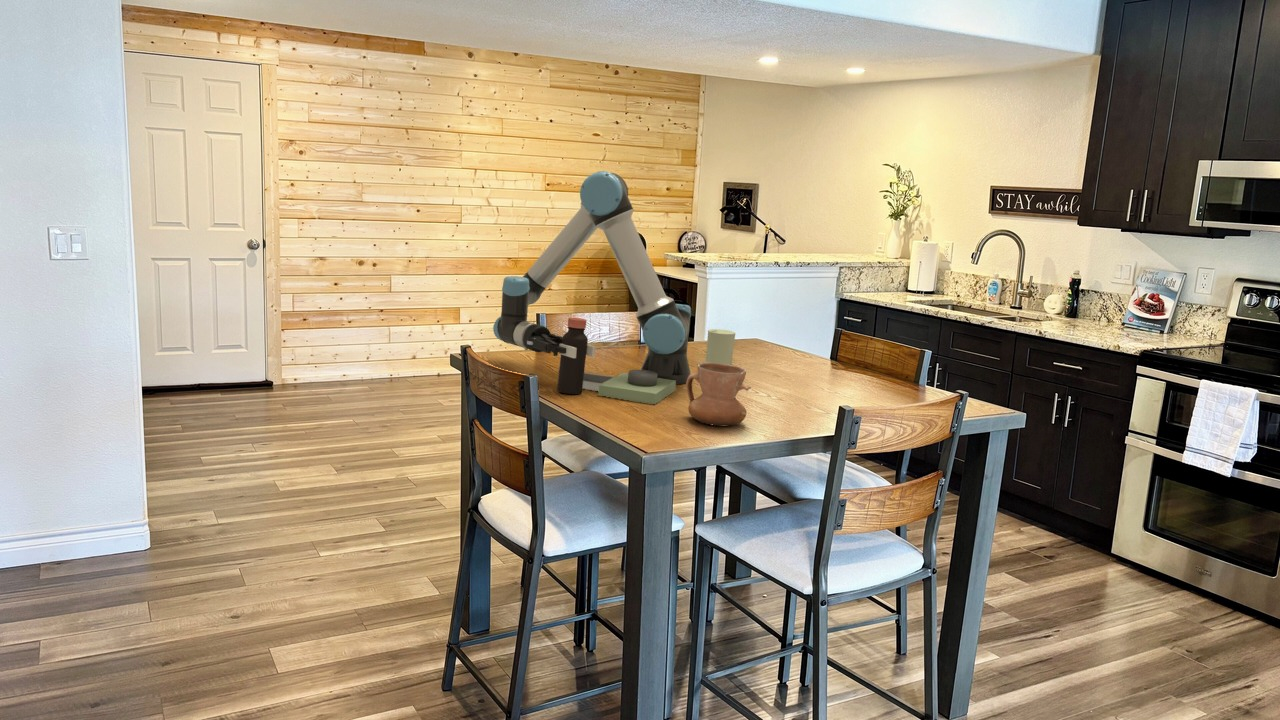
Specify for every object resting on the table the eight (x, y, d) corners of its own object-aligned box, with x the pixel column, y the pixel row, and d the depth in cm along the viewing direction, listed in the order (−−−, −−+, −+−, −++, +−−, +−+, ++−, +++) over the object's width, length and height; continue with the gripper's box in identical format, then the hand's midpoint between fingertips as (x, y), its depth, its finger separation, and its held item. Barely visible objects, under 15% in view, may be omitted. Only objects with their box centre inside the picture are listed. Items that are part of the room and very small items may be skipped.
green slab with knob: (583, 377, 271) (584, 357, 270) (675, 390, 263) (676, 370, 262) (557, 389, 252) (558, 368, 251) (655, 404, 245) (657, 382, 243)
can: (700, 362, 310) (703, 327, 308) (725, 363, 313) (729, 328, 311) (710, 368, 301) (714, 332, 299) (736, 368, 304) (740, 333, 302)
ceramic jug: (759, 425, 232) (766, 370, 230) (729, 434, 221) (735, 376, 218) (700, 410, 243) (705, 357, 240) (668, 418, 231) (673, 363, 229)
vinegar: (583, 395, 248) (591, 322, 245) (558, 393, 246) (566, 319, 243) (580, 390, 254) (588, 318, 251) (555, 388, 253) (563, 316, 250)
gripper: (558, 348, 268) (610, 364, 251) (504, 352, 255) (555, 368, 239) (560, 322, 267) (612, 336, 250) (506, 325, 254) (557, 340, 237)
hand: (584, 352), depth 244 cm, fingers closed on vinegar, 6 cm apart
